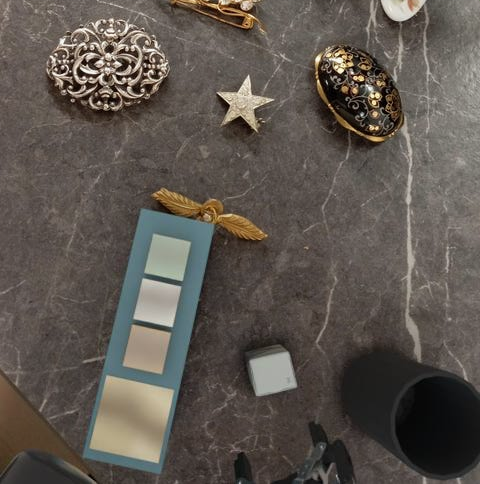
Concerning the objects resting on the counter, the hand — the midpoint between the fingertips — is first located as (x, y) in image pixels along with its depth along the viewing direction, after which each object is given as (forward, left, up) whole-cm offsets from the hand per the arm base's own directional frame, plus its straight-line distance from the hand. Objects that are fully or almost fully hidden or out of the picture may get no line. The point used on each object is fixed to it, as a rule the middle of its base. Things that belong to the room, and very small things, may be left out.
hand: (278, 442), depth 100 cm
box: (+2, +7, -18) cm, 19 cm away
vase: (+15, 0, -18) cm, 24 cm away
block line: (-11, +14, +10) cm, 21 cm away
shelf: (-11, +15, -18) cm, 26 cm away
